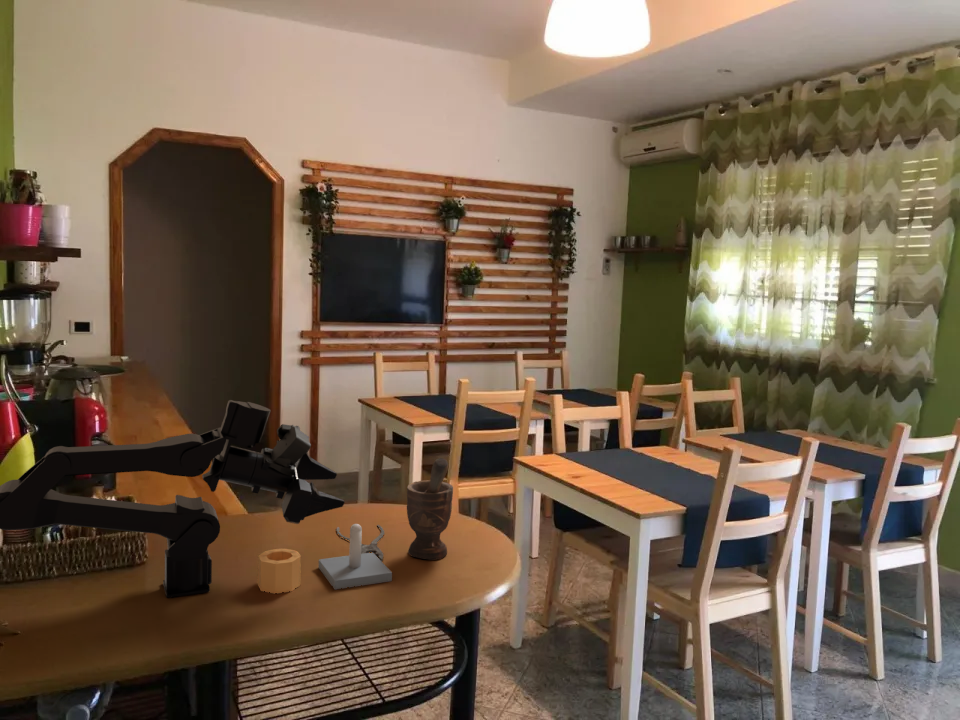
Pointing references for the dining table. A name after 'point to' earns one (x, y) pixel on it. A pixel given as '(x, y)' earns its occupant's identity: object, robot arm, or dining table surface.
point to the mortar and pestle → (429, 512)
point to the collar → (279, 570)
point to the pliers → (372, 546)
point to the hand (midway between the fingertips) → (339, 489)
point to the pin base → (353, 574)
